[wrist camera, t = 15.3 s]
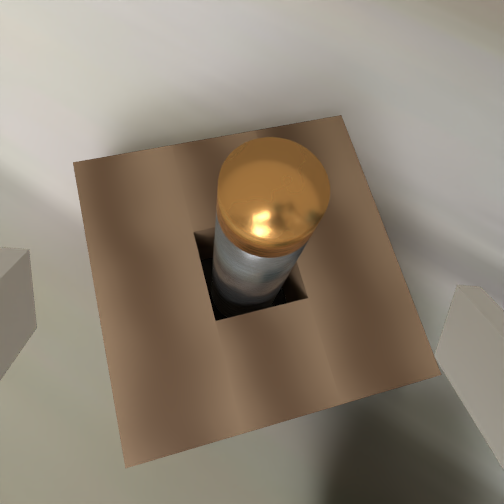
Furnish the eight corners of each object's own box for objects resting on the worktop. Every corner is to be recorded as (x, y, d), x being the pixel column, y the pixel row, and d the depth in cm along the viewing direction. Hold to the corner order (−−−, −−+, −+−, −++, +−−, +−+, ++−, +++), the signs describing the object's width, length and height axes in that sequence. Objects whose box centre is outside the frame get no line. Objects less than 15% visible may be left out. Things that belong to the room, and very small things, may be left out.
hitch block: (321, 157, 34) (341, 115, 29) (402, 382, 29) (441, 374, 24) (92, 202, 31) (73, 162, 26) (139, 459, 26) (125, 468, 21)
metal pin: (264, 254, 31) (310, 128, 18) (282, 312, 29) (345, 224, 16) (204, 267, 30) (206, 147, 17) (219, 328, 29) (234, 249, 16)
